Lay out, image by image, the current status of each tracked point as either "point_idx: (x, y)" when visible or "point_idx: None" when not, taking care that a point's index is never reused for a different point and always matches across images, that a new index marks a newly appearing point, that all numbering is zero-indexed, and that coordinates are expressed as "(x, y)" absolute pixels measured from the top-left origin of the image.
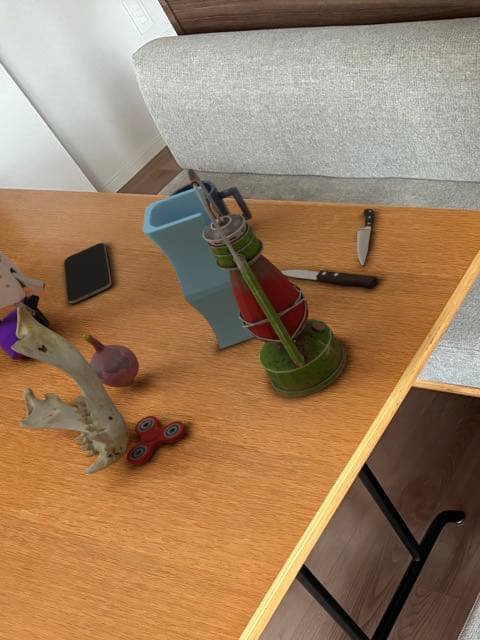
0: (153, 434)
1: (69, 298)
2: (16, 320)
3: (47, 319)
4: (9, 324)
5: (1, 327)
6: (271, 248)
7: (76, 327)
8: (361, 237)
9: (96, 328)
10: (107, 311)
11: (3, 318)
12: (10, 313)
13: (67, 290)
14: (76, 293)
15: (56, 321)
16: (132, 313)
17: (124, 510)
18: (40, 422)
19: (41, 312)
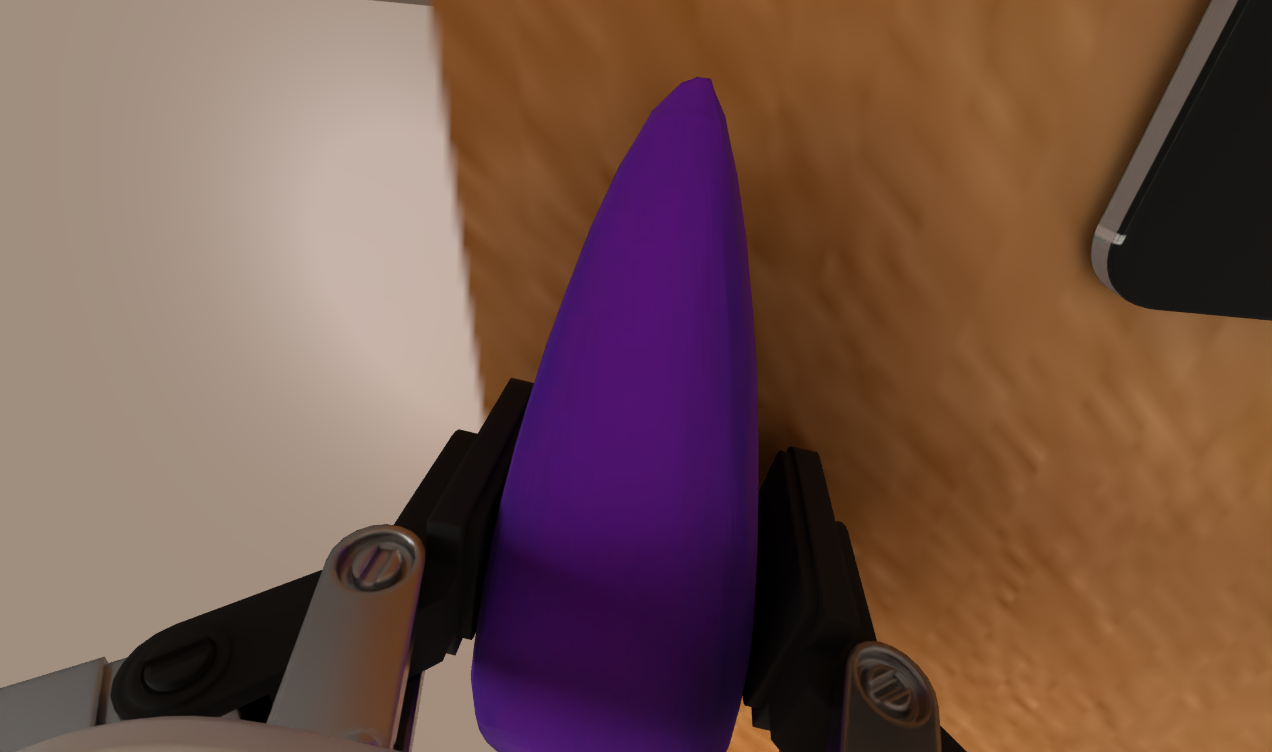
0: None
1: (1142, 238)
2: (670, 746)
3: (846, 543)
4: (605, 747)
5: (531, 724)
6: None
7: (946, 561)
8: None
9: (1031, 651)
10: (1194, 576)
11: (513, 519)
12: (582, 462)
13: (1249, 10)
14: (1258, 212)
15: (861, 391)
16: (1265, 695)
17: None
18: None
19: (865, 609)
